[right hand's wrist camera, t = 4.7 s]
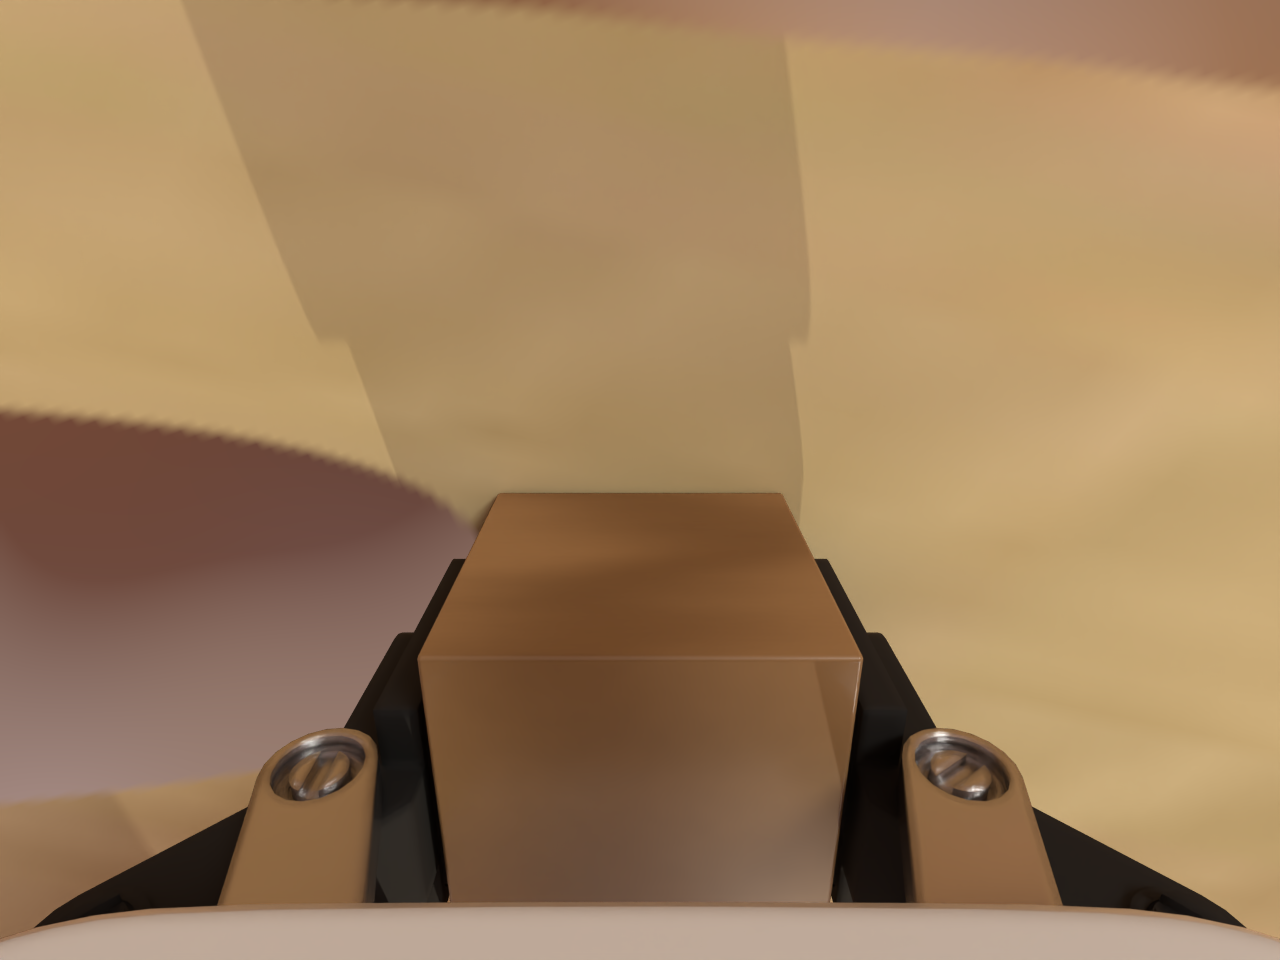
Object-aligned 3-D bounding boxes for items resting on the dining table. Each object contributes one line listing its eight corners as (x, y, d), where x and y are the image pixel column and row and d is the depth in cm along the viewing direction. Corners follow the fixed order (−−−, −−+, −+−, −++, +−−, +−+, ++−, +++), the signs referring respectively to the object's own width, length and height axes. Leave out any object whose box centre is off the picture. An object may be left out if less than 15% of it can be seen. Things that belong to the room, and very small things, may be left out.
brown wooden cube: (782, 492, 12) (865, 657, 7) (763, 736, 14) (820, 983, 9) (497, 492, 12) (414, 657, 7) (516, 736, 14) (459, 983, 9)
